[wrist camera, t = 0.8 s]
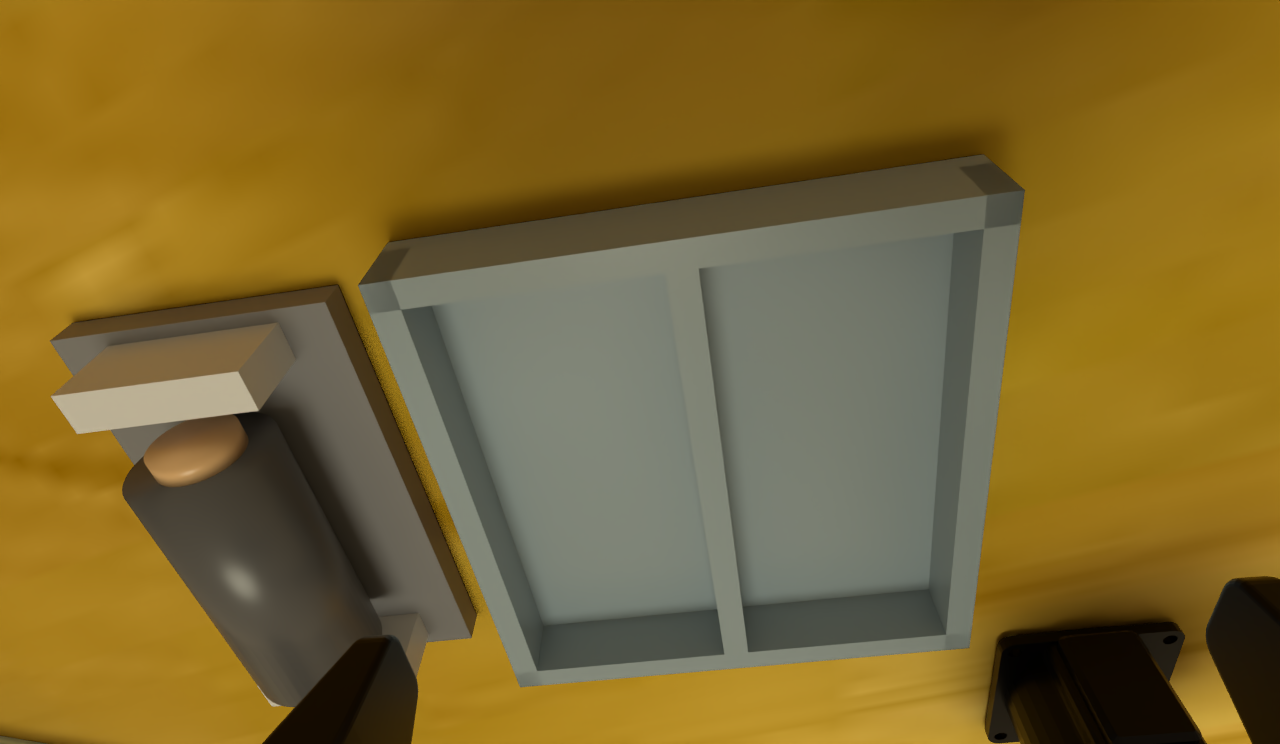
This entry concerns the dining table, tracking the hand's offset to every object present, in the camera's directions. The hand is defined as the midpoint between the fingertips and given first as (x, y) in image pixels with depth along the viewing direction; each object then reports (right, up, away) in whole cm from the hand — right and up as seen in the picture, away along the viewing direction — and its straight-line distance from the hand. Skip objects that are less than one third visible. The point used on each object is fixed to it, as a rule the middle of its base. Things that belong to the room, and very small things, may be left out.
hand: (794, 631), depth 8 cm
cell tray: (0, +1, +16) cm, 15 cm away
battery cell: (-13, -1, +16) cm, 21 cm away
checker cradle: (-13, -1, +17) cm, 21 cm away
